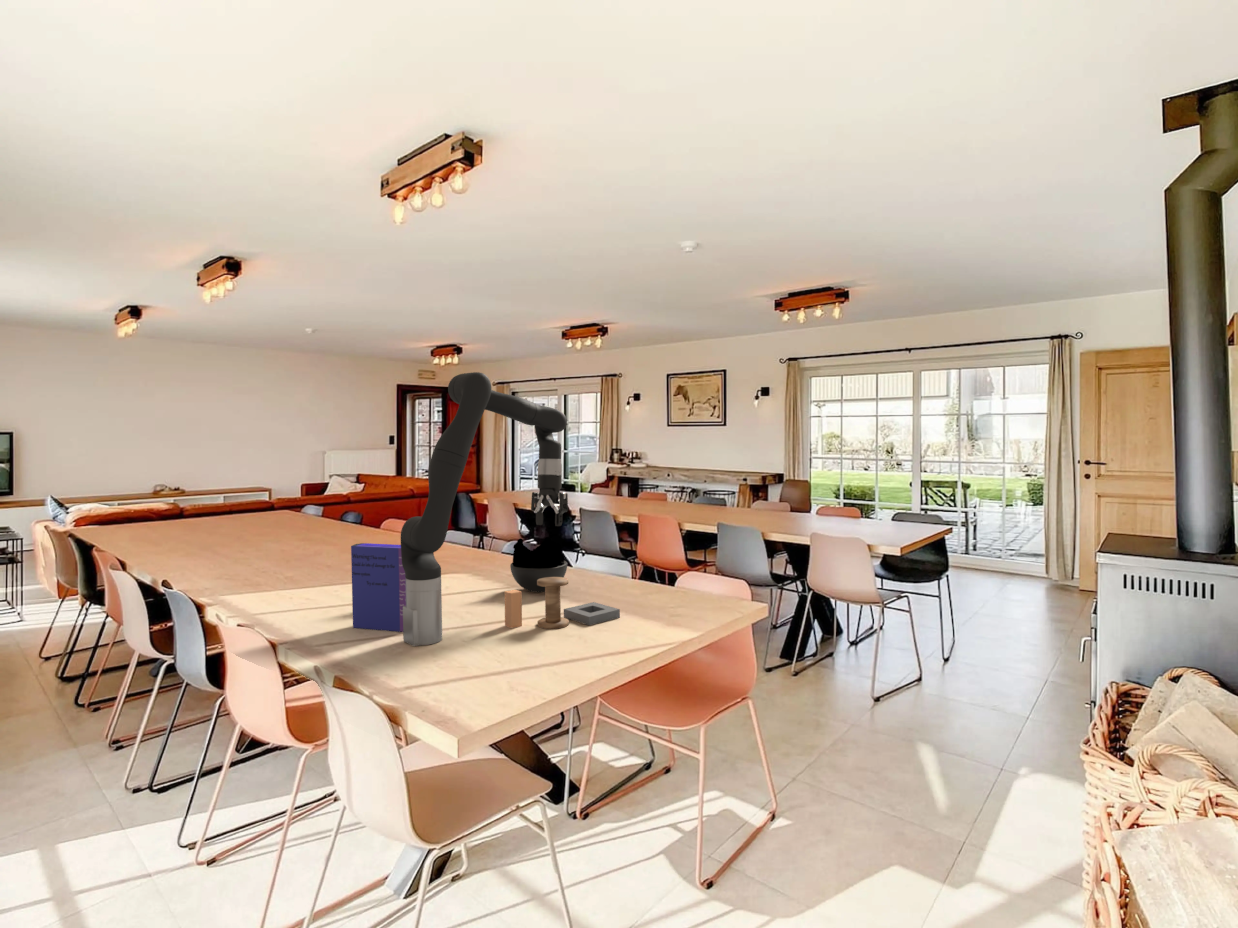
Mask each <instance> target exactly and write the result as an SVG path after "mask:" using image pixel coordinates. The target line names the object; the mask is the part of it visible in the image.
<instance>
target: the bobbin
mask: <svg viewBox="0 0 1238 928" xmlns="http://www.w3.org/2000/svg"><path fill="white" fill-rule="evenodd" d="M537 585H538V586H542V587H545V592H544V603H545V604H544V605H545V606H544V607H545V608H544V609H545V610H544V611H545V612H544V614H545V615H544V617H543V618H540V619H538V620H537V627H538V628H539V629H543V630H544V629H546V630H557V629H563V628H566V627H568V626H569V625H570V624H569V620H570V619H568V618H565V617H564V616H563V617H561V616H562V615H561V614H562V613H561V608H562V607H561V606H562V605H561V587H564V586H568V585H569V579H568V578H566V577H564V578H563V577H545V578H541V579H538V580H537Z"/></svg>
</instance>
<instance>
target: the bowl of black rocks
mask: <svg viewBox="0 0 1238 928" xmlns="http://www.w3.org/2000/svg"><path fill="white" fill-rule="evenodd" d="M512 548H513V549H514V550H513V554H512V555H513V556H512V562H511V563H510V567H509V569H510V573H511V574H512V577H513V579H514V581H515V582H516V583H517V584H518V585H519V587H521V588H523V589H524V590H526V591H528V592H533V593H545V587H542V586H538V585H537V580H538V579H541V578H545V577H563V578H565V575H566V573H567V570H568V562H567V561H566V560H565V556H564V554H563V553H562V551H561V550H562V547H561V545H560V544H559V543H556V542H554V541H552V540H551V539H550V538H549V537H545V538H544V540H543V541H542V542H541V544H539V545H538V546H537V547H535V548H534V549H531V550H530V549H529V548H528V547H527V546H526V545H524V539H522V538H519V539H517V542H516V543H514V545H513V547H512Z"/></svg>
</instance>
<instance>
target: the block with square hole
mask: <svg viewBox="0 0 1238 928" xmlns="http://www.w3.org/2000/svg"><path fill="white" fill-rule="evenodd" d="M620 615H621V609H620V608H616V607H613V606H609V605H606V604H603V603H599V602H595V601H593V602H587V603H584V604H579V605H576V606H571V607H567V608H563V618H566V619H568V620H570V621H574V622H578V623H580V624H584V625H587V626H592V625H596V624H600V623H603V622H604V623H605V622H608V621H611V620H612V621H613V620H615V619H619V618H620V617H621V616H620Z"/></svg>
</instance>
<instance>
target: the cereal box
mask: <svg viewBox="0 0 1238 928" xmlns="http://www.w3.org/2000/svg"><path fill="white" fill-rule="evenodd" d="M350 550H351V552H350V556H351V557H350V559H351V596H352V598H351V601H352V605H351V606H352V607H351V608H352V629H357V630H358V629H359V630H369V631H370V630H371V631H382V632H391V633H392V632H394V633H403V606H406V586H405V571H404V568H403V566H402V557H401V544H388V543H370V542H369V543H367V542H365V543H364V542H361V543H360V542H359V543H356V544H353V545H351V546H350Z"/></svg>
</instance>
